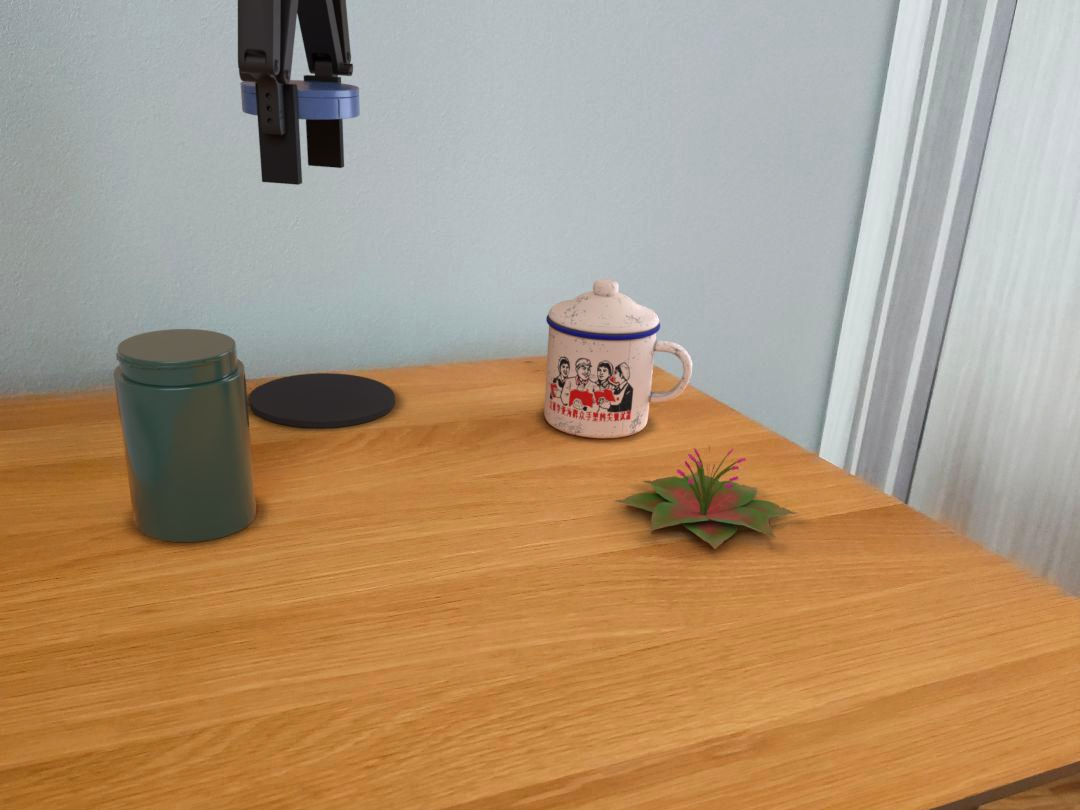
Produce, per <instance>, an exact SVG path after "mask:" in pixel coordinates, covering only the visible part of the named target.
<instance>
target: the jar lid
mask: <svg viewBox="0 0 1080 810" xmlns="http://www.w3.org/2000/svg"><path fill="white" fill-rule="evenodd" d="M255 83H256V82H245V81H241V82H240V83H239V84H240V94H241V96H240V97H241V110H242V113H244V114H248V115H252V116H257V102H256V87H255ZM289 84H297V93H298V112H299V120H306V119H310V120H329V119H343V120H346V119H353V118H357V117H359V116H360V115H361V111H360V110H361V108H360V87H359V86H357V85H353V84H349V83H342V82H341V83H332V82H320V81H304V80H300V79H290V82H289Z"/></svg>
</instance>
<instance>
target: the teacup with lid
mask: <svg viewBox="0 0 1080 810" xmlns="http://www.w3.org/2000/svg"><path fill="white" fill-rule="evenodd" d="M619 289H620V288H619V283H618V282H617V281H616V280H614V279H609V278H599V279H596V280H595V281H594V282H593V286H592V290H591V291H586V292H583V293H581V294H579V295H578V296H576V297H574V298H572V299H567V300H562V301H559V302H557V303H556V304H554V305H552V306H551V307H550V309H549V310H548V312H547V315H546V319H545V320H546V324H547V325H548V334H547V335H548V338H547V355H546V372H545V390H544V391H545V392H544V393H545V395H544V409H543V410H544V412H543V414H544V418H545V420H546V422H547V423H548V424H549V425H550V426H552V427H553V428H554V429H556V430H559V432H563V433H566V434H568V435H569V434H570V435H573V436H576V437H582V438H591V439H617V438H618V439H619V438H624V437H628V436H632V435H634V434H637V433H639V432H640V431H642V430H644V428H646V426H647V424H648V420H649V411H650V403H667V402H670V401H673V400H674V399H676V398H677V397H679V396H680V395H681V394H682V393H683V392H684V390H685V389H686V388H687V386H688V385H689V382H690V380H691V377H692V373H693V361H692V358H691V355H690V353H689V352H688V351H687V349H685V347H683V346H682V345H680V344H678V343H675V342H672V341H666V340H657V333H658V332H659V331H660V329H661V323H660V319H659V316H658V314H657V313H656V312H655V310H653V309H651V308H649V307H648V306H645V305H643V304H640V303H637V302H635V300H633V299H632V298H631V297H630V296H628V295H626V294H624V293H621V292H619ZM656 352H662V353H668V354H672V355H674V356H675V357H677V358H678V359H679V360H680V362H681V363H682V368H683V370H682V371H683V372H682V376H681V378H680V380H679V382H678V383H677V384H676V385H675V386H674V387H672V388H671V389H669V390H665V391H652V382H653V373H654V372H653V371H654V362H655V353H656Z"/></svg>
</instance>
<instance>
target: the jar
mask: <svg viewBox="0 0 1080 810" xmlns="http://www.w3.org/2000/svg"><path fill="white" fill-rule="evenodd" d="M116 350H117V352H115V355H116V361H118V363H119V364H118V365H117V366H115V368H114V370H113V380H114V387H115V394H116V401H117V408H118V417H119V423H120V431H121V436H122V443H123V451H124V458H125V459H124V460H125V465H126V472H127V473H126V474H127V481H128V487H129V495H130V501H131V509H132V516H133V522H134V526H135V527H136V529H137V530H138V531H139V532H140V533H141V534H143V535H145V536H147V537H149V538H151V539H154V540H159V541H164V542H171V543H197V542H206V541H212V540H217V539H222V538H224V537H227V536H231V535H233V534H236V533H238V532H240V531H242V530H244V529H245V528H247V527H248V526H249V525H250V524H252V522H253V521H254V520H255V518H256V515H257V504H256V503H257V502H256V491H255V477H254V464H253V452H252V442H251V441H252V440H251V429H250V417H249V402H248V394H247V393H248V392H247V379H246V368H245V364H244V363H243V362H242V361H241V359H239V358H238V352H237V342H236V340H235V339H234V338H233V337H231V336H230V335H228V334H226V333H225V334H224V333H222V332H217V331H213V330H209V329H208V330H207V329H198V328H197V329H196V328H173V329H161V330H153V331H147V332H143V333H139V334H136V335H133V336H130V337H128V338H125V339H124V340H122V341H121V342H119V344H118V345H117V349H116Z"/></svg>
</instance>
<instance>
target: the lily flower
mask: <svg viewBox="0 0 1080 810" xmlns="http://www.w3.org/2000/svg"><path fill="white" fill-rule="evenodd" d="M710 447H711V446H708V451H711V450H710ZM693 450H694V453H695V455H696V457H697V458H698V460H697V458H696V457H694V455H692V454H690V453H688V454H687V456H688V458H689V459H690V460H691V461H692V462H694V463H695V465H696V472H695V473H694V472H693V470H692V467H691V465H690V464H689V462H688V461H687V460H684V465H685V467H686V468H687V469H688V470H689V471H690V473H691V474H690V475H686V474H685V472H683V471H682V470H681V469H680V468H678V469H676V473H677V474H678V475H680V476H681V477H678V476H674V475H673V476H667V477H662V478H657V479H653V480H642V482H644V483H646V484H647V485H650V486H651V488H652V489H653V490H654V492H638V493H635V494H631V495H629V496H626V497H625V498H623V499H618V500H617V499H616V500H614V503H620V504H622V505H628V506H631V507H633V508H634V507H635V508H639V509H642V510H645V511H648V512H651V519H650V522H651V525H650V526H649V528H648V530H647V532H651V531H654V530H659V529H664V528H667V527H672V526H677V525H681V524H683V526H684V527H685V528H686V530H689V531H690V532H692V533H693V534H695V536H697V537H699V539H701V540H702V541H704V542H705V543H708V544H709V545H710V546H711V547H712V548H713V549H714V550H716V549H717V548H718V547H720V546H721V545H722V544H723V543H724V541H727V540H729V539H730V538H731V537H732V536H733V535H735V534H736V533H737V530H738V527H737V525H738V526H744V527H747V528H749V529H751V530H754V531H757V532H759V533H761V534H764V535H767V536H769V537H771V538H773V539H775V540H778V539H777V537H776V535H775V534H774V531H773V528H772V526H770V520H769V519H773V518H778V517H783V516H788V515H796V514H798V512H796V511H792V510H791V509H788V508H785V507H781V506H780V505H779V504H777V503H774V502H772V501H769V500H763V499H754V498H755V497H757V493H758V490H757V489H758V487H755V486H749V485H745V484H740V483H738V482H735V481H737V480H739V476H733V477H731V478H728V480H723V481H719V480H720V478H721V477H722V476H724V475H725V474H726V473H728V472H730V471H731V470H732V471H734V470H739V466H738V465H736V464H740V463H742V462H746V457H742V458H739V459H736V461H735V462H733V463H731V464H730V465H729V466H727V467H725V468H724V469H723V470H721V471H720V472H719V473H718V471H719V469H720V468H721V466H722V465H723V463H724V462H725V460H726V458H727V457H728V456H729V455H731V453H733V452H734V448H732V449H730V450H729V451H728V452H727V454H726V455H725V456H724V458H723V459H722V460H721V462H720V464H718V467H717V468H716V470H715V466H716V464H713V467H712V470H711V473H710V475H709V465H706V474H707V475H705V468H704V466H703V461H702V459H701V457H700V452H698V450H697V448H693ZM714 470H715V471H714ZM713 472H714V473H713ZM717 473H718V474H717ZM716 474H717V475H716Z"/></svg>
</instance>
